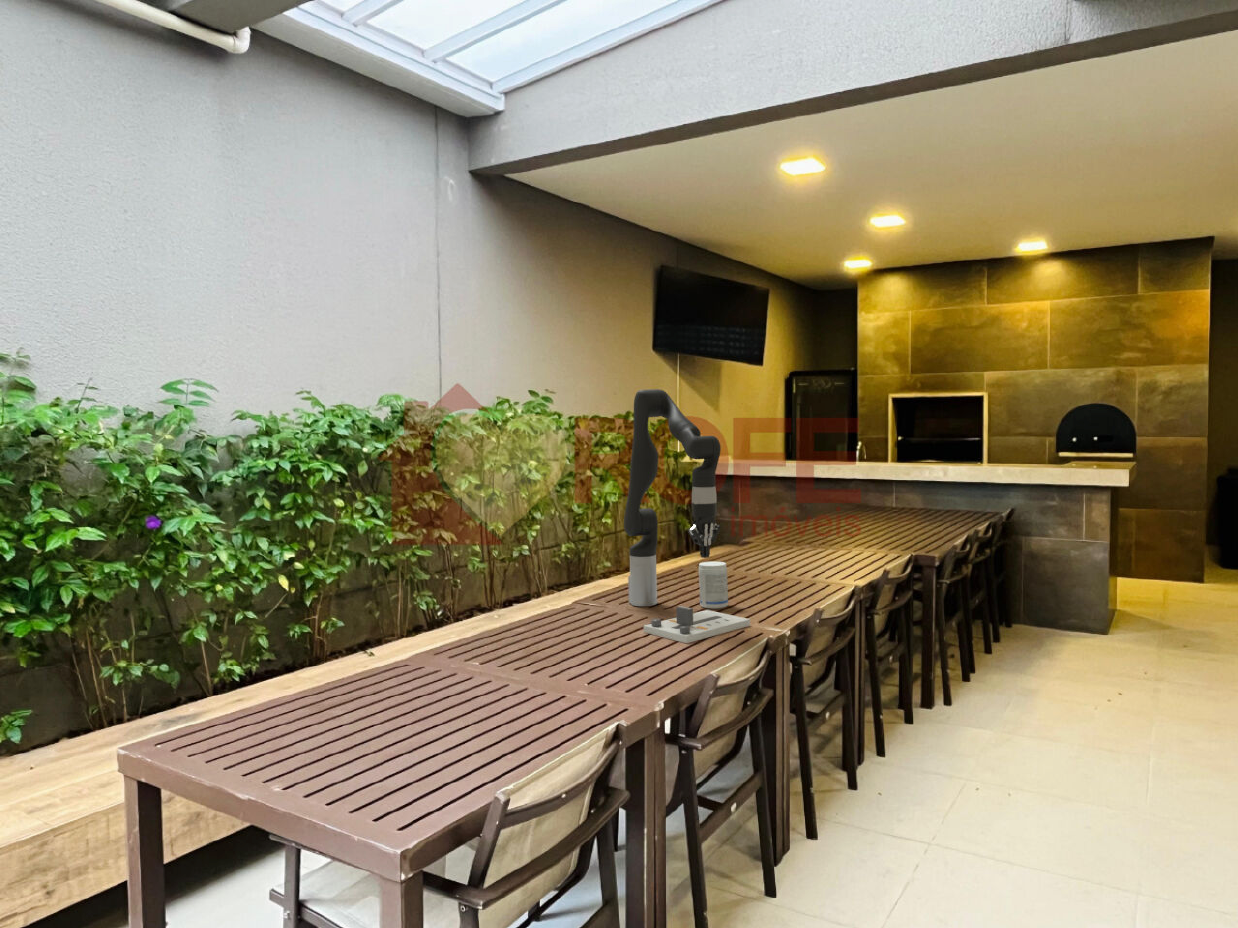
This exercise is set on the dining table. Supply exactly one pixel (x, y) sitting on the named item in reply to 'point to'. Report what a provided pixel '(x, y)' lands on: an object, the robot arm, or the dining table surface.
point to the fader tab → (684, 615)
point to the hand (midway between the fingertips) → (704, 557)
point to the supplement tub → (713, 585)
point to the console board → (696, 626)
